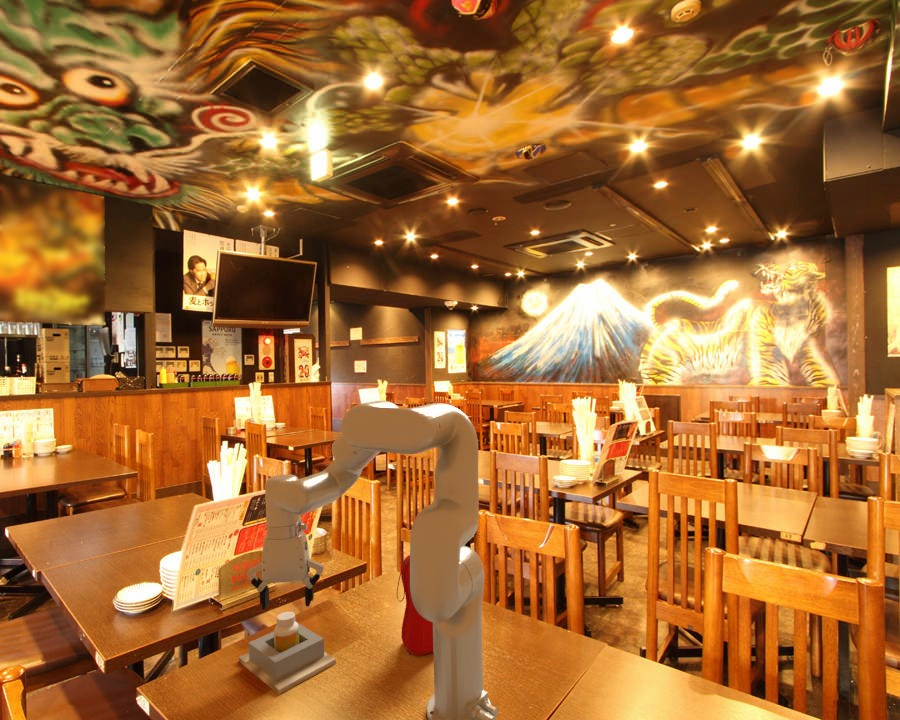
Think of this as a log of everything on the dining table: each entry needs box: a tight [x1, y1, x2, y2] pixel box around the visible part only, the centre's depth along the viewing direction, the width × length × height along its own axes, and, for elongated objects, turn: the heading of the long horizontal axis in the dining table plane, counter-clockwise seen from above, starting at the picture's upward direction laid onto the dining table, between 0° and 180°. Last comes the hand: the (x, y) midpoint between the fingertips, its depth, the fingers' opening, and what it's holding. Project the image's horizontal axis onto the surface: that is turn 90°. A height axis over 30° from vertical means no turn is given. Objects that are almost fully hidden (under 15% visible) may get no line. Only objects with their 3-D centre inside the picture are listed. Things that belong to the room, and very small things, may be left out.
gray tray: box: [238, 651, 337, 695], centre depth 116 cm, size 18×14×1 cm
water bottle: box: [396, 554, 433, 657], centre depth 121 cm, size 9×11×25 cm
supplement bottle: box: [273, 611, 299, 653], centre depth 116 cm, size 5×5×10 cm
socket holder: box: [248, 622, 325, 681], centre depth 116 cm, size 12×12×4 cm
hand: (287, 605), depth 116 cm, fingers open, 9 cm apart
